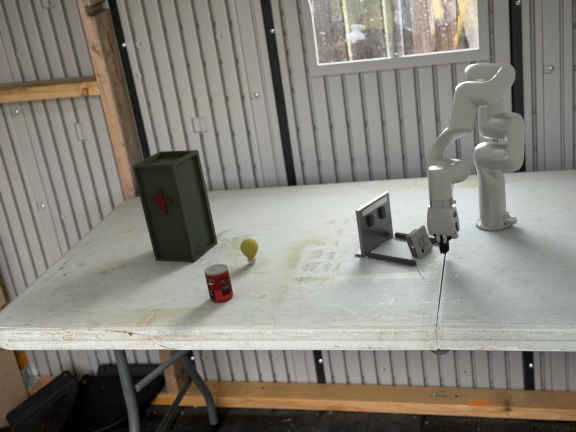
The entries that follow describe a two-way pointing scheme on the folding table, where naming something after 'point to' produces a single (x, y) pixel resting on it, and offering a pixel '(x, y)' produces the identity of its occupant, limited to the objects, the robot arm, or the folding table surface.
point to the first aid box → (176, 205)
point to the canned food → (218, 283)
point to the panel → (374, 224)
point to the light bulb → (249, 250)
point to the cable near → (391, 259)
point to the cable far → (403, 235)
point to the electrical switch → (419, 242)
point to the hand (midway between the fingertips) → (444, 252)
